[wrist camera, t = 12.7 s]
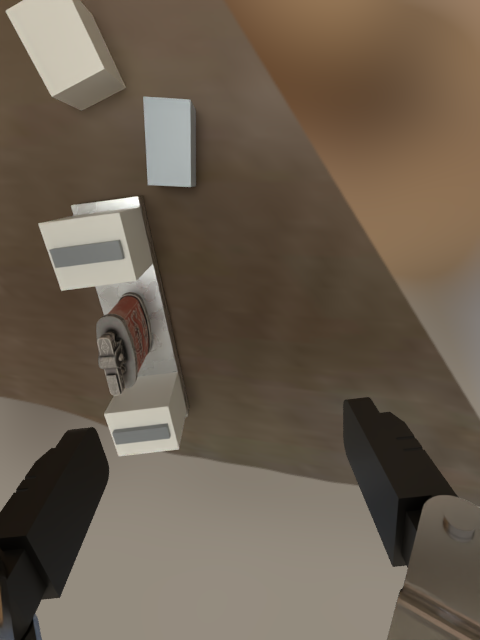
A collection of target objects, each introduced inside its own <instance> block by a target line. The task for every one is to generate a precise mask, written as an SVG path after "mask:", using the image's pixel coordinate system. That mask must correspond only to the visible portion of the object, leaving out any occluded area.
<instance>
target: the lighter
mask: <svg viewBox="0 0 480 640" xmlns="http://www.w3.org/2000/svg"><path fill="white" fill-rule="evenodd" d="M96 332H97V344H98V350H99V357H98V364H99V367H100V368H101V369H103V370H104V371H105V375H106V378H107V382H108V386H109V390H110V393H111V394H112V395H115V396H117V395H121V394H122V393H123V391H124V389H127V388H130V387H132V386H133V385H134V384H135V382H136V380H137V377H138V372H139V370H140V368H141V366H142V363H143V361H144V359H145V357H146V356H147V355H148V354H149V353H150V351H151V348H152V330H151V322H150V319H149V315H148V311H147V308H146V306H145V303H144V301H143V299H142V297H141V296H140V295H139V294H137V293H135V292H128V293H125V294H123V295H122V296H121V298H120V299H119V301H118V303H117V304H116V305H115V306H114V308H113V309H112V310H111V311H110V312H109V313H108V314H106V315H104V316H103V317H101V318H100V320H99V321H98V322H97V325H96Z"/></svg>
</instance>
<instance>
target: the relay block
mask: <svg viewBox="0 0 480 640" xmlns="http://www.w3.org/2000/svg"><path fill="white" fill-rule="evenodd" d="M6 13H7V15H8V17H9V19H10V20H11V22H12V24H13V26H14V28H15V30H16V32H17V33H18V35H19V37H20V39H21V41H22V43H23V44H24V46H25V48H26V50H27V52H28V54H29V56H30V57H31V59H32V61H33V63H34V65H35V67H36V69H37V70H38V72H39V74H40V76H41V78H42V80H43V81H44V83H45V85H46V87H47V89H48V91H49V93H50V94H51V96H52V97H53V98H55V99H57V100H60V101H62V102H64V103H66V104H68V105H70V106H72V107H74V108H77V109H79V110H81V111H82V110H84V109H86V108H88V107H90V106H92V105H94V104H96V103H98V102H100V101H102V100H104V99H106V98H108V97H110V96H112V95H113V94H115V93H117V92H119V91H121V90H123V89H125V88H126V87H125V84H124V82H123V80H122V78H121V76H120V74H119V71H118V69H117V67H116V65H115V63H114V61H113V58H112V56H111V54H110V52H109V50H108V48H107V46H106V43H105V41H104V39H103V37H102V35H101V33H100V30H99V28H98V26H97V24H96V22H95V20H94V17H93V15H92V14H91V13H90V12H89V10H88V9H87V8H86V7H85V6H84V4H83V3H82V2H81V1H80V0H23V1H21V2H20V3H18V4H16V5H14V6H13V7H11V8H9V9H8V10H6Z"/></svg>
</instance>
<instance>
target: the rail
mask: <svg viewBox="0 0 480 640" xmlns="http://www.w3.org/2000/svg"><path fill="white" fill-rule="evenodd" d="M134 207H140V209H141V213H142V217H143V222H144V226H145V230H146V235H147V239H148V244H149V248H150V252H151V257H152V261H153V264H152V265H151V266H150V267H149V268H148V269H147V270H146V271H145V272H144V274H143V275H142V276H141V277H140V278H139V279H138V280H137V281H132V282H124V283H117V284H109V285H101V286H95V287H96V290H97V293H98V297H99V300H100V303H101V307H102V310H103V313H104V315H106V314H108V313H109V312H110V311H111V310H112V309H113V308H114V306H115V305H116V304H117V303H118V301H119V299H120V298H121V296H122V295H123V294H125V293H128V292H135V293H137V294H139V295H140V296H141V297H142V299H143V301H144V303H145V306H146V308H147V311H148V315H149V319H150V322H151V330H152V348H151V351H150V353H149V354H148V355H147V356H146V357H145V359H144V361H143V363H142V366H141V368H140V370H139V372H138V377H140V376H149V375H157V374H165V373H173V372H178V375H179V380H180V384H181V388H182V393H183V397H184V402H185V406H186V410H187V411H186V416H185V417H188V413H189V408H190V407H189V402H188V398H187V393H186V389H185V384H184V380H183V375H182V371H181V366H180V362H179V357H178V353H177V348H176V344H175V339H174V335H173V330H172V326H171V321H170V317H169V312H168V308H167V303H166V299H165V294H164V290H163V285H162V281H161V276H160V272H159V267H158V263H157V258H156V254H155V249H154V245H153V241H152V236H151V232H150V227H149V223H148V218H147V214H146V209H145V205H144V200H143V196H137V197H129V198H122V199H115V200H107V201H100V202H92V203H85V204H78V205H71V208H72V211H73V214H74V216H75V215H82V214H90V213H97V212H105V211H112V210H119V209H127V208H134Z"/></svg>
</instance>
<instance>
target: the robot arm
mask: <svg viewBox="0 0 480 640" xmlns="http://www.w3.org/2000/svg"><path fill="white" fill-rule="evenodd" d="M343 438H344V446H345V451H346V455H347V458H348V460H349V463H350V465H351V468H352V470H353V472H354V475H355V477H356V480H357V482H358V484H359V487H360V489H361V492H362V494H363V496H364V499H365V501H366V504H367V506H368V508H369V511H370V513H371V516H372V518H373V520H374V523H375V525H376V528H377V530H378V532H379V535H380V537H381V540H382V542H383V545H384V547H385V549H386V552H387V554H388V556H389V559H390V561H391V564H392V566H393V567H395V566H404V565H407V567H408V569H407V574H406V578H405V582H404V586H403V588H402V589H401V590H400V592H399V595H398V599H397V602H396V607H395V610H394V614H393V618H392V622H391V626H390V630H389V634H388V638H387V640H480V508H479V507H477V506H476V505H474V504H472V503H471V502H469V501H466V500H464V499H462V498H459V497H458V496H457V495H456V494H455V492H454V491H453V489H452V488H451V487H450V485H449V484H448V482H447V481H446V480H445V478H444V477H443V475H442V474H441V473H440V471H439V470H438V468H437V467H436V466H435V464H434V463H433V461H432V460H431V459H430V457H429V456H428V454H427V453H426V452H425V450H423V449H422V446H421V445H420V443H419V442H418V440H417V439H415V437H414V435H413V433H412V432H411V431H410V429H409V428H408V426H407V425H406V424H405V422H403V421H402V420H401V419H399V418H398V417H396V416H395V415H393V414H392V413H391V412H384V413H380V412H379V411H378V409H377V408H376V406H375V405H374V403H373V401H372V400H371V399H370V398H369V397H366V398H357V399H348V400H344V404H343ZM108 477H109V465H108V461H107V458H106V456H105V453H104V450H103V447H102V444H101V442H100V439H99V436H98V433H97V431H96V429H95V428H93V427H90V428H81V429H72V430H68V431H67V432H66V433H65V434H64V436H63V437H62V439H61V440H60V441H59V443H58V444H57V446H56V448H51V449H50V450H49V451H48V452H46V454H44V455H43V456H42V457H41V458H40V459H38V460H37V461H36V462H35V463H34V465H33V466H32V468H31V469H30V471H29V472H28V474H27V475H26V476H25V480H23V481H22V482H21V483H20V485H19V486H18V488H17V489H16V490H17V491H16V493H13V495H12V496H11V498H10V499H9V501H8V502H7V503H6V505H5V506H4V508H3V509H2V511H1V512H0V640H42V638H41V632H40V627H39V621H38V618H37V616H36V614H35V612H36V610H37V608H38V606H39V604H40V601H41V599H51V598H60V596H61V593H62V591H63V589H64V586H65V584H66V581H67V579H68V576H69V574H70V572H71V569H72V567H73V564H74V562H75V560H76V557H77V555H78V552H79V550H80V548H81V545H82V543H83V540H84V538H85V535H86V533H87V531H88V528H89V526H90V523H91V521H92V519H93V516H94V514H95V511H96V509H97V507H98V504H99V502H100V499H101V497H102V494H103V492H104V490H105V487H106V485H107V481H108Z"/></svg>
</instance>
